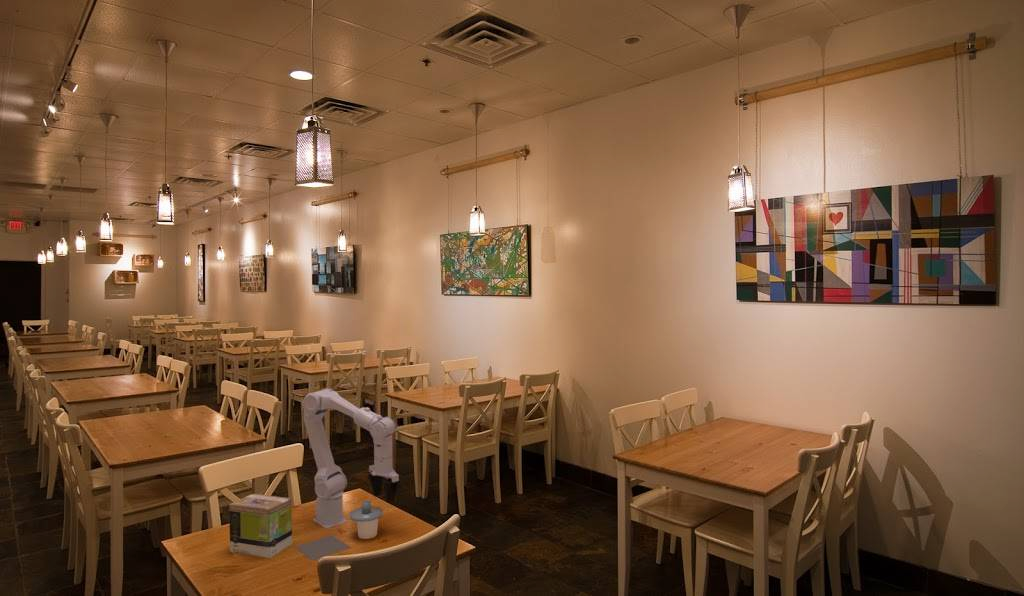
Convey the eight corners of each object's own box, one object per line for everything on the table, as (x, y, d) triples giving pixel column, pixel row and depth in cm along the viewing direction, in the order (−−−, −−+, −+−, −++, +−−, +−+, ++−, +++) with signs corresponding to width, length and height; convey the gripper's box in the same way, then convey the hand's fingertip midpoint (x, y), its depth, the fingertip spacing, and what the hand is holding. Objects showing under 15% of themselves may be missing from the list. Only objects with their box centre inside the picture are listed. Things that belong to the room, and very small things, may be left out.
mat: (294, 549, 172) (294, 547, 172) (331, 536, 181) (331, 534, 181) (312, 562, 164) (312, 560, 164) (350, 549, 172) (350, 547, 172)
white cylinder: (373, 542, 176) (372, 519, 176) (352, 540, 178) (352, 518, 178) (382, 532, 183) (382, 511, 183) (362, 531, 185) (362, 509, 184)
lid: (343, 515, 180) (343, 502, 180) (371, 506, 187) (371, 494, 187) (360, 524, 173) (360, 511, 173) (388, 514, 180) (388, 502, 180)
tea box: (293, 545, 175) (292, 497, 174) (269, 560, 165) (268, 509, 165) (254, 538, 180) (253, 491, 179) (228, 553, 170) (227, 503, 170)
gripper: (360, 454, 187) (361, 496, 187) (384, 464, 176) (385, 508, 176) (379, 450, 191) (380, 490, 192) (404, 459, 181) (404, 502, 181)
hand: (383, 498), depth 184 cm, fingers open, 7 cm apart
